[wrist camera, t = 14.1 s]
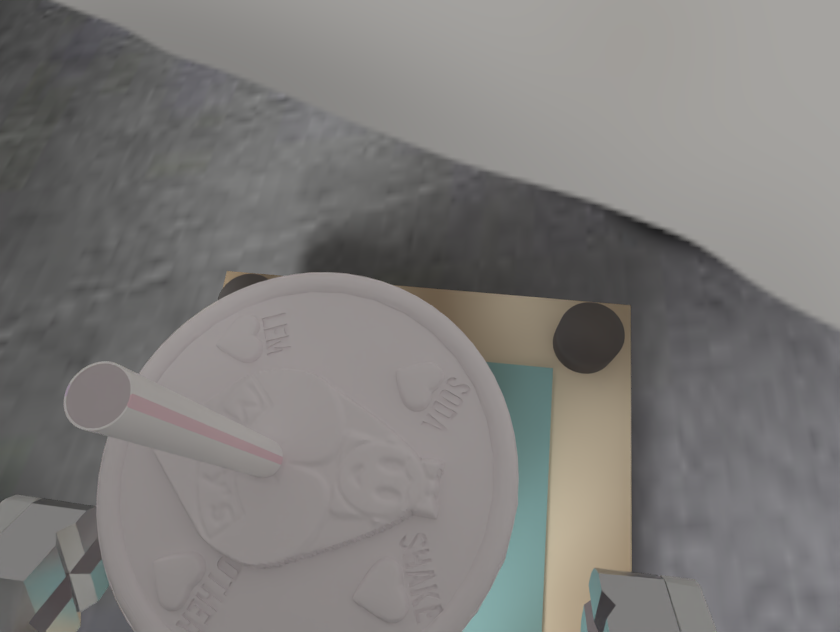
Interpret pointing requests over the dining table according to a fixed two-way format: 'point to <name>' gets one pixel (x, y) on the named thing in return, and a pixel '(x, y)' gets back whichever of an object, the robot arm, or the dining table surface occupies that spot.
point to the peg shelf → (550, 445)
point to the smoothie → (303, 465)
